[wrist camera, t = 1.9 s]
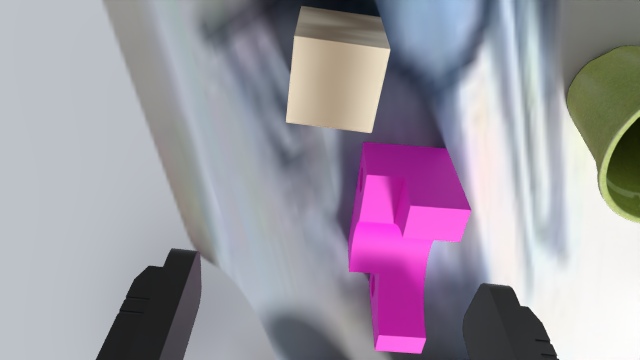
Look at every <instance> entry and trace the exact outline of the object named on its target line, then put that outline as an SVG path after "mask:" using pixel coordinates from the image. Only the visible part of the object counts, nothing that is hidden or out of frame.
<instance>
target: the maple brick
mask: <svg viewBox="0 0 640 360" xmlns="http://www.w3.org/2000/svg"><path fill="white" fill-rule="evenodd" d="M389 54H390V46H389V43H388V40H387V36H386V33H385V30H384V27H383V23H382V20H381V17H376V16H369V15H362V14H355V13H348V12H341V11H334V10H327V9H320V8H313V7H306V6H301V9H300V14H299V18H298V22H297V27H296V31H295V35H294V45H293V55H292V66H291V76H290V86H289V97H288V107H287V117H286V122H288V123H296V124H304V125H311V126H319V127H327V128H335V129H343V130H351V131H358V132H366V133H372V129H373V124H374V120H375V116H376V111H377V107H378V102H379V98H380V94H381V89H382V85H383V80H384V76H385V71H386V67H387V63H388V58H389Z"/></svg>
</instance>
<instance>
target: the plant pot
mask: <svg viewBox="0 0 640 360" xmlns="http://www.w3.org/2000/svg"><path fill="white" fill-rule="evenodd" d="M567 107H568V111H569V114H570V116H571V118H572V120H573V122H574V124H575V126H576V127H577V129H578V131H579V132H580V134H581V136H582V137H583V139H584V141H585V143H586V145H587V147H588V148H589V150H590V152H591V154H592V156H593V157H594V159H595V161H596V166H597V171H598V187H599V190H600V193H601V195H602V197H603V199H604V201H605V202H606V204H607V205H608V206H609V207H610V208H611V209H612V210H613V211H614V212H615V213H617V214H618V215H620V216H622V217H623V218H625V219H628V220H630V221H633V222H637V223H640V46H622V47H618V48H615V49H613V50H612V51H610V52H608V53H606V54H604V55H602V56H600V57H598V58H596V59H594V60H592V61H590V62H589V63H588V64H586V65H585V66H584V67H583V68H582V69H581V71H580V72H579V73H578V74H577V75H576V77H575V78H574V80H573V82H572V84H571V86H570V88H569V92H568V95H567Z"/></svg>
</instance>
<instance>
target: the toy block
mask: <svg viewBox="0 0 640 360" xmlns="http://www.w3.org/2000/svg"><path fill="white" fill-rule="evenodd" d="M470 212H471V208H470V206H469V203H468V201H467V198H466V196H465V193H464V191H463V188H462V186H461V183H460V181H459V178H458V176H457V173H456V171H455V168H454V166H453V163H452V161H451V158H450V156H449V153H448V151H447V149H446V148H435V147H422V146H409V145H396V144H383V143H370V142H363V148H362V154H361V161H360V168H359V174H358V181H357V187H356V194H355V201H354V207H353V214H352V220H351V227H350V234H349V240H348V255H349V272H362V273H371V274H370V279H369V287H370V299H371V310H372V322H373V334H374V345H375V350H376V351H391V352H406V353H421V352H422V349H423V346H424V344H425V341H426V333H425V323H424V281H425V272H426V265H427V260H428V255H429V251H430V248H431V245H432V242H433V240H438V241H452V242H460V241H461V238H462V235H463V232H464V230H465V227H466V224H467V221H468V218H469V215H470Z"/></svg>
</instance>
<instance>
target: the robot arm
mask: <svg viewBox="0 0 640 360" xmlns="http://www.w3.org/2000/svg"><path fill="white" fill-rule="evenodd" d="M200 298H201V261H200V252H199V251H192V250H182V249H173V248H172V249H171V250H170V252H169V254H168V257H167V259H166V261H165V264H164V266H163V267H156V266H148V267H147V268H146V269H145V270H144V271H143V272H142V273H141V274H140V275H138V276H137V277H136V278H135V279H134V281H133V283H132V285H131V287H130V289H129V291H128V293H127V295H126V299H125V300H124V302H123V304H122V306H121V308H120V312H119V314H118V315H117V316H116V319H115V321H114V323H113V325H112V327H111V329H110V331H109V333H108V335H107V337H106V339H105V342H104V344H103V346H102V348H101V350H100V352H99V354H98V356H97V358H96V360H183V358H184V355H185V351H186V348H187V345H188V341H189V338H190V335H191V331H192V328H193V325H194V322H195V318H196V315H197V311H198V308H199V304H200ZM463 337H464V341H465V344H466V348H467V351H468V355H469V358H470V360H559V359H557V354H556V352H555V350H554V348H553V345H552V344H550V339H549V337H548V335H547V332H546V330H545V328H544V326H543V324H542V322H541V321H540V320H539V319H538V318H537V317H536V315H535V314H534V313H533V312H532V311H531V310H530V309H529V307H525V306H520V304H519V301H518V299H517V297H516V294H515V292H514V290H513V289H512V288H511V287H510V286H505V285H496V284H487V283H483V284H481V285H480V287H479V288H478V290H477V292H476V294H475V296H474V298H473V300H472V302H471V304H470V306H469V308H468V310H467V312H466V314H465V316H464V320H463Z"/></svg>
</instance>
